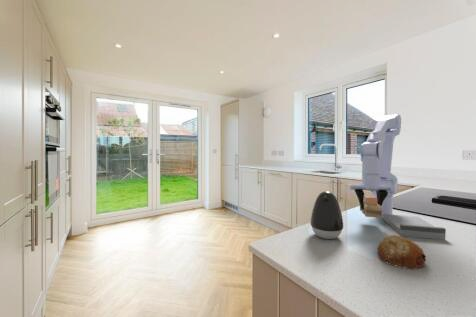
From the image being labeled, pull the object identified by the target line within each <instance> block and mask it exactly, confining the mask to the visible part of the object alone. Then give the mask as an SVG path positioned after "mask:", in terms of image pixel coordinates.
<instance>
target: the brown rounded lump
mask: <svg viewBox="0 0 476 317" xmlns="http://www.w3.org/2000/svg"><path fill="white" fill-rule="evenodd" d="M376 252H377V256H378V257H379V259H380V258H381V259H382V260H381V259H380V260H381V261H383V262H384V261H385V262H384V263H386V262H388V263H387V264H389V263H390V264H389V265H391V264H393V265H392V266H394V265H397V266H396V267H398V266H401V267H400V268H403V267H406V268H405V269H409V268H411V269H410V270H414V268H417V269H420V268H423V266H424V265H425V264H426V261H427V259H426V258H427V256H426V254H425V252H424V250H423V249H422V248H421V247H420V246H419V245H418V244H416V243H415V242H413V241H412V240H410V239H409V238H406V237H404V236H401V235H397V234H393V235H392V234H391V235H388V236H385V237H384V238H383V239H382V240H380V242H379V244H378V246H377V249H376Z"/></svg>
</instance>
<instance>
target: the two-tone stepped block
mask: <svg viewBox="0 0 476 317" xmlns="http://www.w3.org/2000/svg"><path fill="white" fill-rule="evenodd" d="M359 211H360V212H361V213H362V214H363V215H364V216H365V217H366V218H378V219H383V216H382V207H381V206H380V205H379V204H378V203H377V205H370V204H366V203H364V209H361V208H360V207H359Z"/></svg>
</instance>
